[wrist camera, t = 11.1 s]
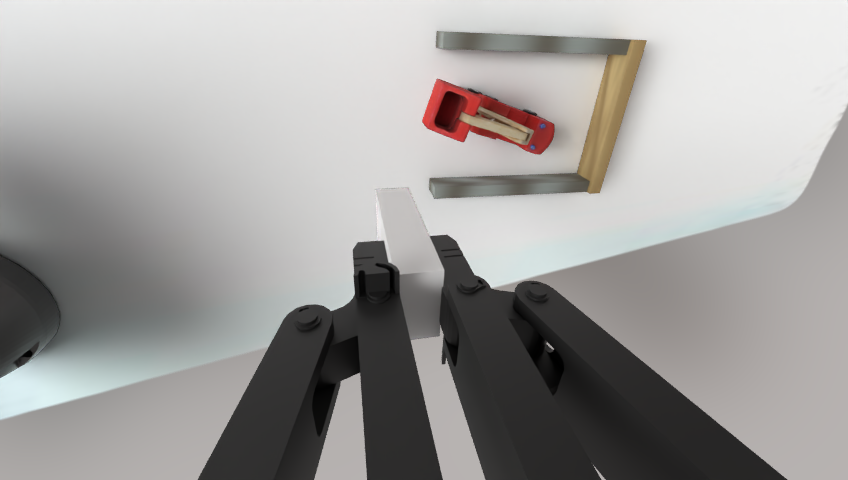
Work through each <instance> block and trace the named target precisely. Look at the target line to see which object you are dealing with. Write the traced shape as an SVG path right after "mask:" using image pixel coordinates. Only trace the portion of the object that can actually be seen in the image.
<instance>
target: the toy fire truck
mask: <svg viewBox="0 0 848 480" xmlns="http://www.w3.org/2000/svg"><path fill="white" fill-rule="evenodd" d="M536 115H537V114H536V113H533V112H531V111H528V110H525V109H524V110H523V111H521V110H519V109H517V108H514V107H511V106H509V105H506V104H503V103H500V102H498V100H497V99H495V98H492V97H490V96H487V95H482V93H480V92H478V91H475V90H473V89H468V90H466V89H463V88H461V87H459V86H456V85H453V84H451V83H448V82H446V81H443V80H440V79H437V80H436V82H435V85H434V88H433V90H432V94H431V97H430V100H429V103H428V105H427V108H426V111H425V114H424V117H423V120H422V122H423V123H424V125H425V126H426V127H427V128H428V129H430V130H432V131H435V132H437V133H439V134H442V135H444V136H447V137H450V138H452V139H455V140H457V141H460V142H464V141H465V139H466V137H467V134H468V132H469V130H470V131H471V132H474V133H476V134H479V135H482V136H486V137H489V138H492V139H496V138H498V139H501V140H504V141H507V142H510V143H513V144H516V145H518V146H519V147H521V148H522V149H524V150H525V151H528V152H531V153H534V154H541V153H542V152H544V151H545V150H546V148H547V147H548V146H549V145H550V143H551V142H552V140H553V137H554V124H553V123H551V122H549V121H547V120H545V119H543V118H540V117H538V116H536Z"/></svg>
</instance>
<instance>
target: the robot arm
mask: <svg viewBox="0 0 848 480" xmlns="http://www.w3.org/2000/svg"><path fill="white" fill-rule="evenodd" d="M376 213H377V239H378V241H371V242H358V243H357V245H356V246H355V248H354V249H353V260H354V286H355V295H354V297H353V299H352V300H351V301H350V302H349V303H348V304H347V305H345V306H344V307H341V308H339V309H337V310H334V311H331V312H330V310H329V309H327V308H326V307H324V306H320V305H305V306H302V307H299V308H296V309H295V310H293V311H292V312H290V313H289V314H288V315H287V316H286V317H285V319H284V320H283V322H282V324H281V326H280V327H279V329H278V331H277V333H276V335H275V337H274V339H273V340H272V342H271V344H270V346H269V348H268V350H267V352H266V353H265V355H264V357H263V359H262V361H261V363H260V365H259V366H258V368H257V370H256V372H255V374H254V376H253V378H252V380H251V381H250V383H249V386H248V387H247V389H246V391H245V393H244V394H243V396H242V398H241V400H240V402H239V404H238V406H237V408H236V409H235V411H234V413H233V415H232V417H231V419H230V420H229V422H228V424H227V426H226V428H225V430H224V432H223V433H222V435H221V437H220V439H219V441H218V443H217V445H216V447H215V449H214V450H213V452H212V454H211V456H210V458H209V460H208V461H207V463H206V465H205V467H204V469H203V471H202V473H201V474H200V476H199V478H198V480H314V478H315V474H316V471H317V467H318V463H319V460H320V456H321V453H322V449H323V445H324V442H325V438H326V435H327V431H328V427H329V424H330V420H331V417H332V413H333V409H334V406H335V402H336V398H337V395H338V391H339V388H340V381H342V380H344V379H346V378H349V377H351V376H353V375H355V374H357V373H360V375H361V390H362V406H363V422H364V436H365V452H366V468H367V480H443V479H442V475H441V471H440V466H439V461H438V457H437V453H436V449H435V444H434V440H433V435H432V431H431V427H430V422H429V418H428V414H427V410H426V405H425V401H424V397H423V392H422V388H421V384H420V379H419V375H418V371H417V366H416V362H415V358H414V354H413V349H412V345H411V340H413V339H421V338H428V337H436V336H439V335H440V325H441V328H442V331H443V334H444V338H443V349H442V364H445V361H446V358H447V361H448V364H449V367H450V370H451V373H452V376H453V380H454V383H455V385H456V389H457V392H458V395H459V398H460V401H461V404H462V408H463V410H464V414H465V417H466V420H467V423H468V426H469V429H470V433H471V436H472V439H473V442H474V445H475V448H476V451H477V454H478V457H479V460H480V464H481V467H482V470H483V473H484V476H485V479H486V480H601V478H600V477H599V475H598V473H597V471H596V470H595V468H594V466H595V467H596V469H597V470H598V471H599V472H600V473H601V475H602V476H603V477H604V478H605V479H606V480H787V479H786V478H784V477H783V476H782V475H781V474H780V473H778V472H777V471H776V470H775V469H773V468H772V467H771V466H770V465H769V464H767V463H766V462H765V461H764V460H763V459H761V458H760V457H759V456H758V455H756V454H755V453H754V452H753V451H751V450H750V449H749V448H748V447H746V446H745V445H744V444H743V443H742V442H740V441H739V440H738V439H737V438H736V437H734V436H733V435H732V434H731V433H729V432H728V431H727V430H726V429H725V428H723V427H722V426H721V425H720V424H718V423H717V422H716V421H715V420H714V419H712V418H711V417H710V416H709V415H707V414H706V413H705V412H704V411H703V410H701V409H700V408H699V407H698V406H696V405H695V404H694V403H693V402H691V401H690V400H689V399H687V397H685V396H684V395H683V394H682V393H680V392H679V391H678V390H677V389H676V388H674V387H673V386H672V385H671V384H669V383H668V382H667V381H666V380H665V379H663V378H662V377H661V376H660V375H658V374H657V373H656V372H655V371H654V370H652V369H651V368H650V367H649V366H647V365H646V364H645V363H644V362H643V361H641V360H640V359H639V358H638V357H636V356H635V355H634V354H633V353H631V352H630V351H629V350H628V349H626V348H625V347H624V346H623V345H622V344H620V343H619V342H618V341H617V340H615V339H614V338H613V337H612V336H611V335H610V334H608V333H607V332H606V331H605V330H603V329H602V328H601V327H600V326H598V325H597V324H596V323H595V322H594V321H592V320H591V319H590V318H589V317H587V316H586V315H585V314H584V313H583V312H581V311H580V310H579V309H578V308H576V307H575V306H574V305H573V304H571V303H570V302H569V301H568V300H567V299H565V298H564V297H563V296H562V295H560V294H559V293H558V292H557V291H556V290H554V289H553V288H551V287H550V286H548V285H546V284H543V283H541V282H537V281H525V282H522V283H520V284H518V285H517V287H516V288H515V292H507V291H499V290H494V289H491V288H490V286H489V284H488V283H487V282H486V281H485V280H484V279H482V278H480V277H479V276H475V275H474V273H473V272H472V270H471V268H470V266H469V264H468V262H467V261H466V259H465V257H464V256H463V253H462V251H461V250H460V248H459V246H458V244H457V242H456V241H455V240H454V239H452V238H451V237H449V236H448V235H440V236H429V234H428V231H427V229H426V227H425V224H424V222H423V220H422V217H421V215H420V213H419V210H418V208H417V206H416V204H415V201H414V199H413V197H412V194H411V192H410V190H409V188H390V189H376ZM59 322H60V316H59V310H58V307H57V305H56V302H55V300H54V299H53V297H52V295H51V294H50V292H49V291H48V290H47V289H46V288H45V286H44V285H43V284H42V283H41V282H40V281H39V280H37V279H36V278H35V277H34V276H33V275H32V274H30V273H29V272H28V271H26V270H25V269H23V268H22V267H20V266H19V265H17V264H15V263H14V262H12V261H10V260H8V259H6V258H4V257H2V256H0V378H1V377H3V376H5V375H7V374H8V373H10V372H12V371H14V370H15V369H17V368H19V367H20V366H22V365H24V364H26V363H27V362H29V361H30V360H31V359H33V358H34V357H35V356H36V355H37V354H38V353H39V352H40V351H41V350H42V349H43V348H44V347H45V346H46V345H47V344H48V343H49V342H50V341H51V339H52V338H53V337H54V336H55V334H56V332H57V330H58V327H59ZM547 342H548V343H549V344H550V345H551V346H552V347H553V348H554V350H552V349H551V348H550V347H549V346H548V345H547V344H546V343H547ZM591 462H592V463H591ZM593 465H594V466H593Z"/></svg>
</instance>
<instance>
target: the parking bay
mask: <svg viewBox="0 0 848 480" xmlns="http://www.w3.org/2000/svg"><path fill="white" fill-rule="evenodd" d="M646 41H647V40H625V39H602V38H579V37H556V36H533V35H510V34H487V33H464V32H441V31H437V36H436V47H437V48H441V49H464V50H493V51H522V52H551V53H581V54H609V55H608V59H607V63H606V66H605V70H604V74H603V78H602V81H601V85H600V89H599V93H598V96H597V100H596V104H595V108H594V111H593V115H592V119H591V123H590V126H589V130H588V134H587V138H586V141H585V145H584V149H583V153H582V156H581V160H580V164H579V168H578V171H577V173H570V174H541V175H512V176H483V177H454V178H430V182H429V190H430V192H431V193H432V195H433V197H434V199H439V198H461V197H483V196H505V195H527V194H549V193H571V192H588V193H590V194H591V193H600V190H601V187H602V184H603V180H604V177H605V174H606V171H607V167H608V164H609V161H610V158H611V155H612V151H613V148H614V145H615V142H616V138H617V135H618V132H619V129H620V125H621V122H622V119H623V116H624V113H625V109H626V106H627V103H628V100H629V96H630V93H631V90H632V87H633V83H634V80H635V77H636V74H637V71H638V67H639V64H640V61H641V58H642V54H643V51H644V48H645V45H646Z"/></svg>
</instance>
